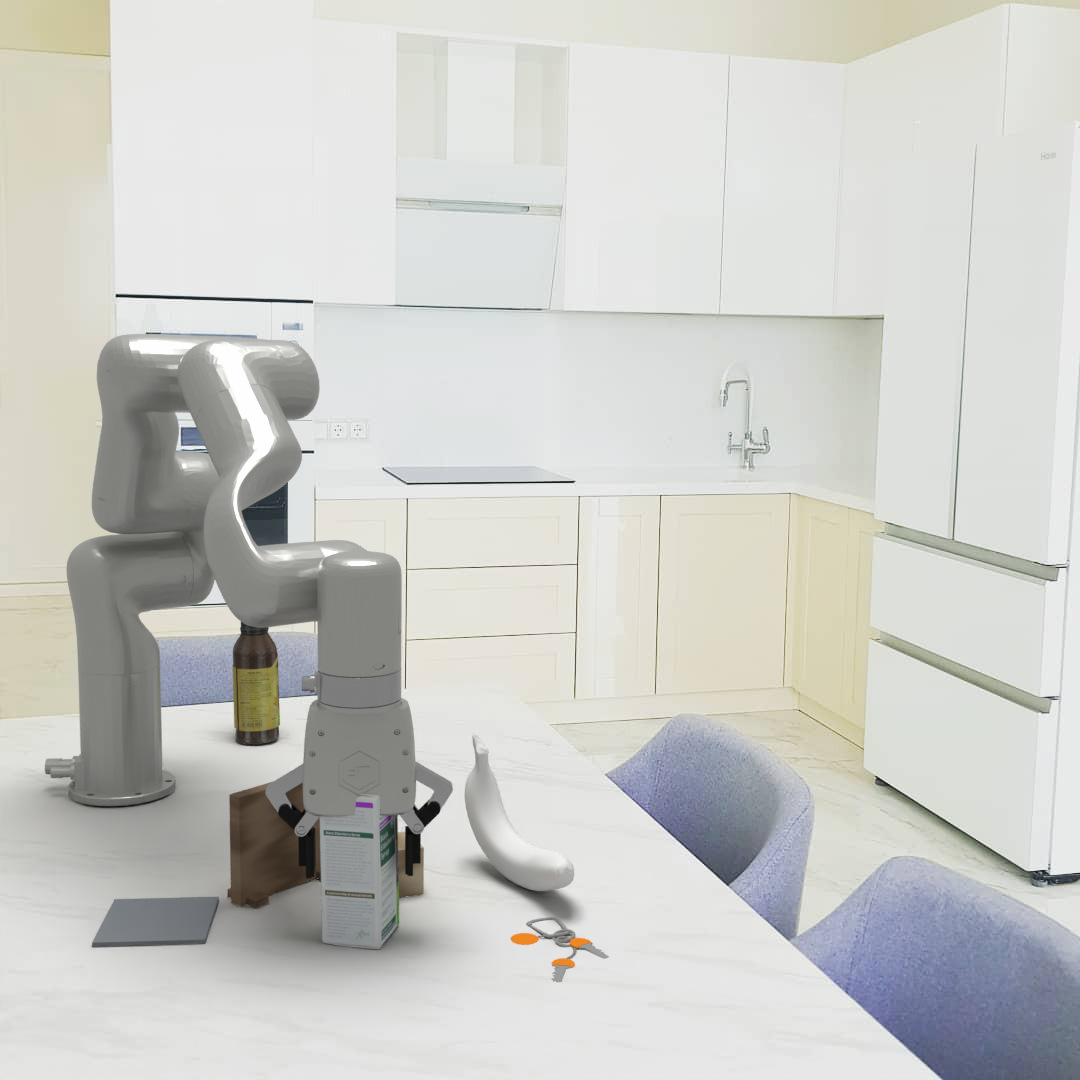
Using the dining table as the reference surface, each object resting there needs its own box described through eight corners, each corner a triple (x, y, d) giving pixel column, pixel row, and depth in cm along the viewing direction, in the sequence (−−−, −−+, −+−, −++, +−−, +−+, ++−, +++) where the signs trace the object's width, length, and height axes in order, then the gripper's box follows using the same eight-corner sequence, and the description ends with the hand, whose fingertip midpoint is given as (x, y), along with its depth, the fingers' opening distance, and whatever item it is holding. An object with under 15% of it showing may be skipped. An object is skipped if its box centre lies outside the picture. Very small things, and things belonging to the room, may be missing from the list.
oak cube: (374, 901, 134) (374, 853, 133) (362, 883, 139) (362, 836, 138) (423, 895, 136) (423, 847, 135) (410, 877, 140) (410, 830, 140)
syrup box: (380, 950, 123) (381, 795, 121) (319, 944, 124) (318, 790, 122) (399, 925, 128) (400, 777, 126) (340, 919, 129) (340, 772, 127)
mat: (92, 946, 122) (91, 942, 122) (114, 903, 132) (114, 899, 132) (205, 943, 124) (204, 939, 123) (219, 900, 133) (219, 896, 133)
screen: (250, 910, 131) (248, 800, 130) (221, 899, 134) (219, 791, 132) (342, 875, 140) (342, 772, 139) (313, 865, 143) (313, 764, 142)
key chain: (494, 930, 128) (494, 922, 128) (564, 918, 131) (564, 910, 131) (550, 987, 117) (550, 978, 117) (625, 973, 120) (625, 963, 120)
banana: (559, 922, 130) (561, 773, 128) (449, 862, 145) (450, 728, 143) (598, 910, 132) (601, 765, 131) (487, 852, 147) (488, 721, 146)
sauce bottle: (288, 740, 189) (287, 600, 187) (249, 749, 185) (248, 605, 182) (263, 731, 194) (261, 594, 191) (224, 739, 189) (222, 599, 187)
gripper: (258, 699, 118) (260, 890, 121) (457, 697, 120) (456, 885, 122) (266, 679, 126) (268, 859, 128) (453, 677, 128) (452, 855, 130)
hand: (360, 871), depth 125 cm, fingers open, 8 cm apart
